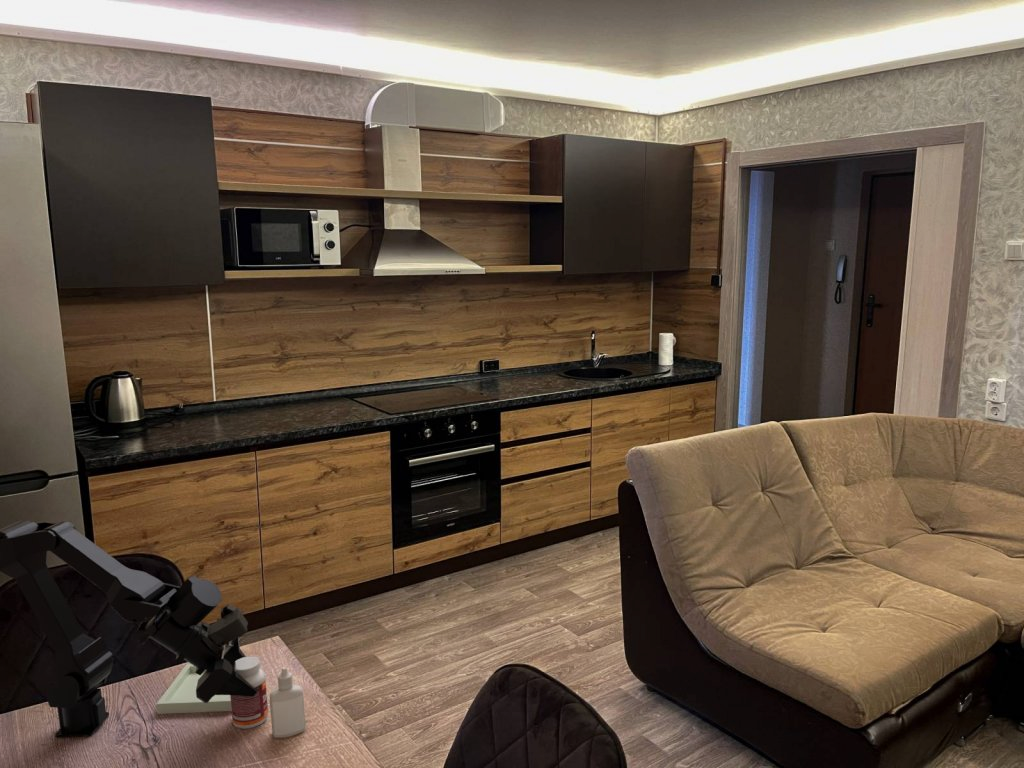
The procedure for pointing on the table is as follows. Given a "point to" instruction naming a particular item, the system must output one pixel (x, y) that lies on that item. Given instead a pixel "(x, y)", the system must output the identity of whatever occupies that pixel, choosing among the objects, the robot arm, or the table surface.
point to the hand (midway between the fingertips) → (256, 684)
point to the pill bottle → (246, 707)
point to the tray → (189, 696)
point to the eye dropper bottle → (287, 707)
